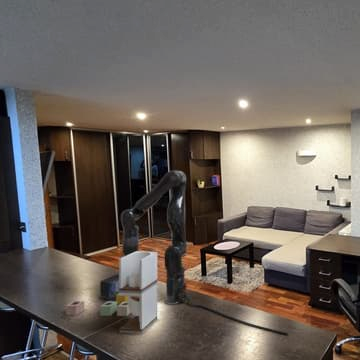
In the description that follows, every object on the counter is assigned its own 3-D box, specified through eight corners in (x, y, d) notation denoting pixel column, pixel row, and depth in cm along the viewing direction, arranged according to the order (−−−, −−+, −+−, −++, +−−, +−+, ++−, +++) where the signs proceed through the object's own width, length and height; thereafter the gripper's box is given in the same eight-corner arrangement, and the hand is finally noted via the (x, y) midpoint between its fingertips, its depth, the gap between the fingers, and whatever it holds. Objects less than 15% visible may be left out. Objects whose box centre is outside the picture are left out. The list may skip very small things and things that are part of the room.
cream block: (133, 310, 145) (133, 301, 144) (127, 316, 140) (126, 306, 139) (123, 310, 144) (123, 301, 144) (117, 315, 139) (117, 306, 139)
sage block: (117, 310, 144) (117, 301, 144) (110, 315, 139) (110, 306, 139) (107, 310, 144) (107, 301, 144) (100, 315, 139) (100, 306, 139)
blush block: (84, 310, 144) (84, 300, 143) (76, 315, 139) (76, 305, 138) (74, 310, 144) (74, 300, 143) (66, 315, 139) (66, 305, 138)
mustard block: (131, 299, 156) (131, 290, 156) (125, 303, 151) (125, 295, 151) (122, 299, 156) (122, 290, 156) (116, 303, 151) (115, 294, 151)
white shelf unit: (136, 318, 137) (136, 251, 136) (157, 319, 137) (157, 252, 135) (119, 332, 126) (119, 258, 124) (141, 333, 126) (141, 259, 124)
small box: (108, 300, 154) (108, 282, 154) (99, 298, 156) (99, 281, 155) (125, 292, 165) (125, 275, 164) (116, 290, 166) (116, 274, 166)
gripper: (128, 248, 146) (128, 277, 146) (145, 240, 160) (144, 267, 161) (114, 247, 145) (114, 276, 146) (132, 240, 160) (131, 267, 160)
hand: (129, 271), depth 153 cm, fingers open, 8 cm apart
